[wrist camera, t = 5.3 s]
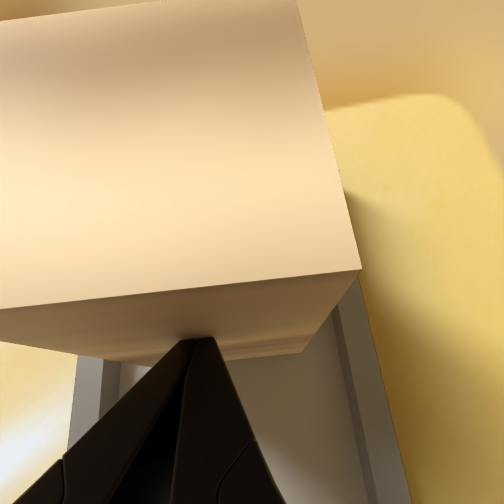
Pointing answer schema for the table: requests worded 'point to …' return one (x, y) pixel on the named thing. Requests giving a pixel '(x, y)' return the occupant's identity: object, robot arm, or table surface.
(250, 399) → the box
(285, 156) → the block
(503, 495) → the table surface
